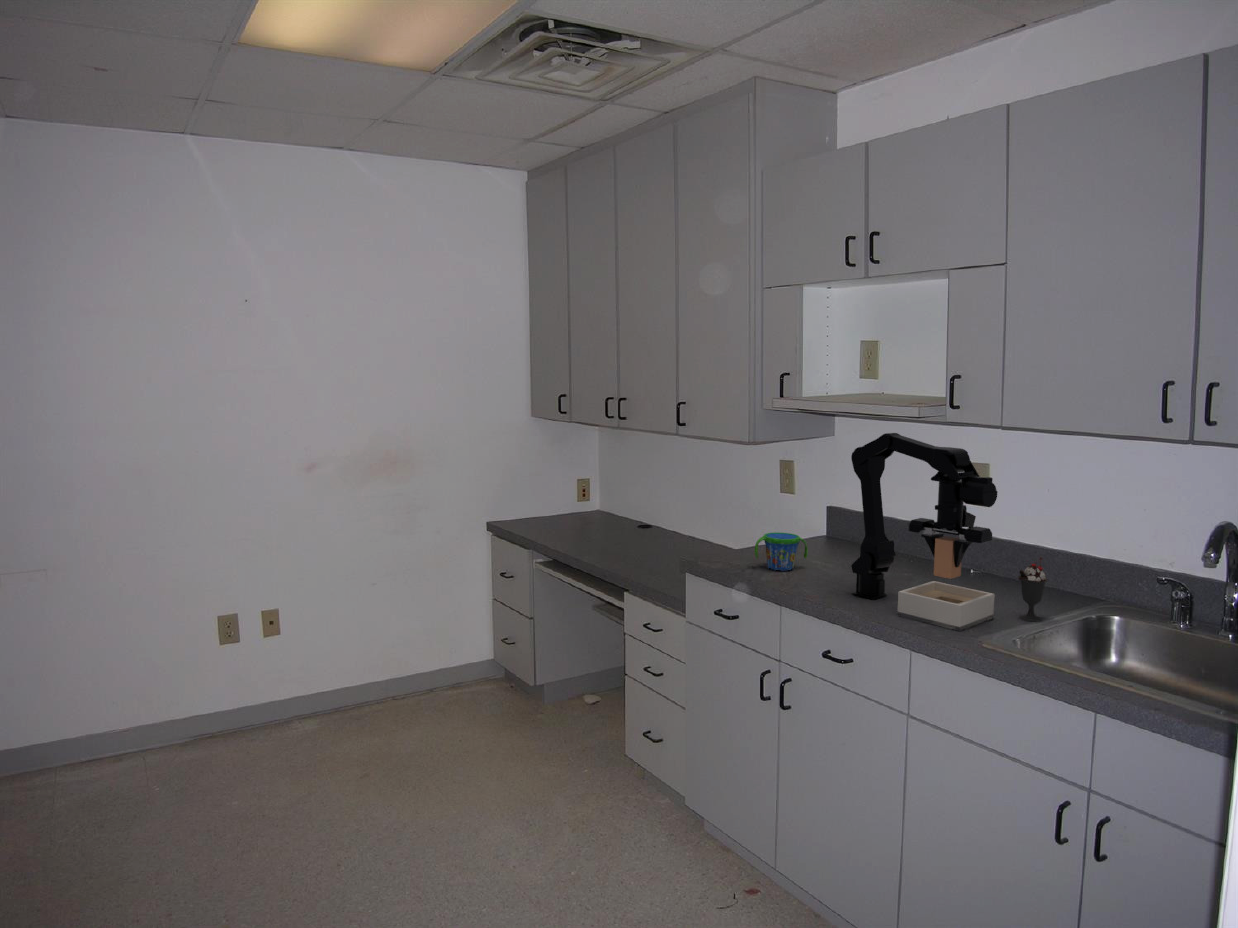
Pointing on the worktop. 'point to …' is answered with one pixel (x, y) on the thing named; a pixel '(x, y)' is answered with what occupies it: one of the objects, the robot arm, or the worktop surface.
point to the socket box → (946, 605)
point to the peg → (945, 558)
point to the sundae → (1032, 589)
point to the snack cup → (781, 550)
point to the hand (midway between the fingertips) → (947, 565)
